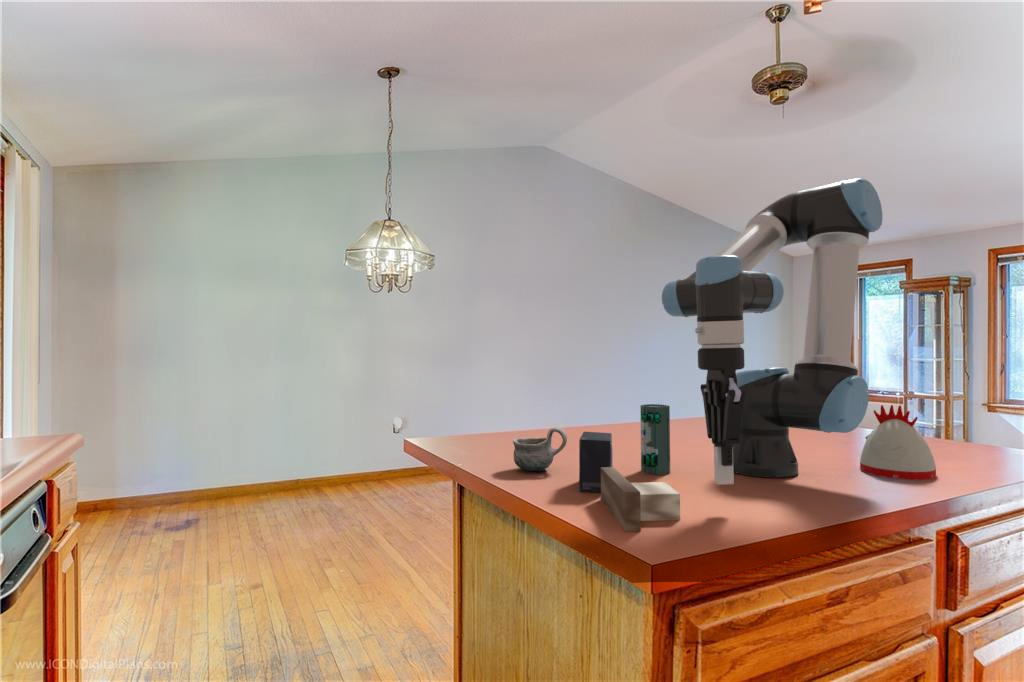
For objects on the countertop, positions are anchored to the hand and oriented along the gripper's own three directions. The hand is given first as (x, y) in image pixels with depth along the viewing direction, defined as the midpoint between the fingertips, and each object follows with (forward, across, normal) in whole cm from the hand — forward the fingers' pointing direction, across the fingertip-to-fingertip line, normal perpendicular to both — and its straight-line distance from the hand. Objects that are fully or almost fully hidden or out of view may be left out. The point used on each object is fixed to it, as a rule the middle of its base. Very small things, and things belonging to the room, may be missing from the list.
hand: (724, 483), depth 96 cm
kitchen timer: (+7, -26, +50) cm, 57 cm away
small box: (+5, -19, -19) cm, 27 cm away
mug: (+5, -35, -29) cm, 45 cm away
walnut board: (+4, 0, -19) cm, 19 cm away
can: (+5, -31, -3) cm, 31 cm away
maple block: (+5, 0, -13) cm, 14 cm away
